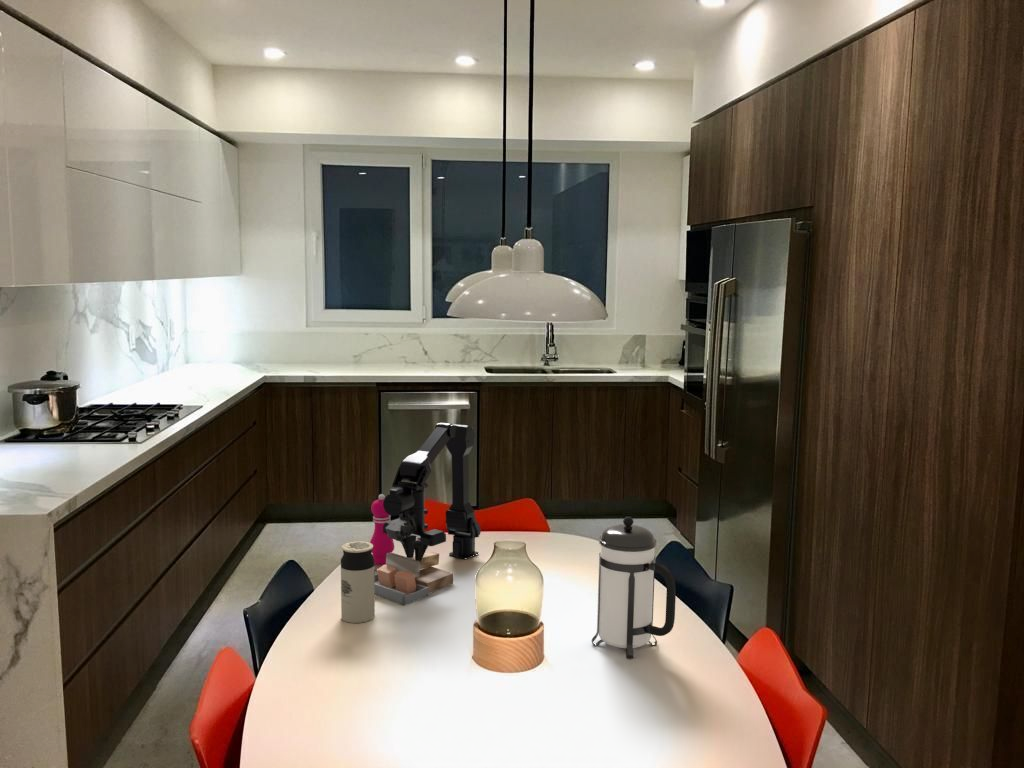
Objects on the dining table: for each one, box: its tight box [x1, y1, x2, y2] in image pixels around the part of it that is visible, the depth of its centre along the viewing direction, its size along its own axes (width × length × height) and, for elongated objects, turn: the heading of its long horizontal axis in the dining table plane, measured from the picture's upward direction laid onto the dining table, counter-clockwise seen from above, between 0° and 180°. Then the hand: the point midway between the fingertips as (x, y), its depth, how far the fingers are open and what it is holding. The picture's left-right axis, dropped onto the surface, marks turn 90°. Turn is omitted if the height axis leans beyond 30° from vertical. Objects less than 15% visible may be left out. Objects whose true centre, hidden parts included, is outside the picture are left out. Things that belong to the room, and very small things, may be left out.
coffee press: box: [591, 516, 677, 659], centre depth 196 cm, size 17×16×30 cm
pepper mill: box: [369, 493, 395, 566], centre depth 251 cm, size 7×7×20 cm
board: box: [397, 566, 454, 594], centre depth 236 cm, size 10×16×3 cm, turn 51°
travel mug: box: [340, 541, 376, 624], centre depth 210 cm, size 8×8×18 cm
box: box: [374, 573, 430, 607], centre depth 228 cm, size 9×18×3 cm, turn 51°
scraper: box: [385, 551, 440, 577], centre depth 235 cm, size 14×11×4 cm
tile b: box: [394, 570, 416, 594], centre depth 227 cm, size 4×4×3 cm
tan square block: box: [376, 564, 397, 588], centre depth 231 cm, size 4×4×3 cm
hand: (414, 563), depth 234 cm, fingers closed on scraper, 2 cm apart
